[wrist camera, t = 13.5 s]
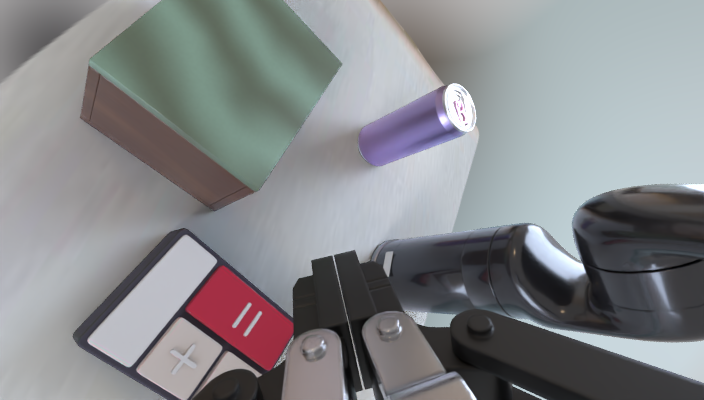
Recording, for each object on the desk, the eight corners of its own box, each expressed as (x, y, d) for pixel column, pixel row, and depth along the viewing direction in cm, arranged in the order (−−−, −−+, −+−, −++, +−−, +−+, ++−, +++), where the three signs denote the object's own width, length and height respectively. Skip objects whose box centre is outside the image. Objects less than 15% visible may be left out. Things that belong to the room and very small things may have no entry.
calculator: (235, 441, 31) (74, 345, 25) (216, 425, 34) (69, 336, 29) (304, 325, 37) (187, 224, 31) (282, 320, 40) (172, 229, 34)
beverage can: (361, 169, 51) (452, 135, 39) (350, 127, 51) (437, 80, 39) (391, 164, 54) (482, 131, 43) (381, 125, 55) (469, 82, 43)
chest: (189, 18, 39) (222, -46, 32) (287, 108, 45) (334, 72, 37) (79, 117, 32) (88, 65, 24) (214, 211, 37) (254, 192, 30)
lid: (227, -50, 32) (230, -57, 32) (337, 67, 38) (342, 63, 37) (88, 64, 24) (89, 59, 24) (255, 192, 30) (259, 190, 29)
